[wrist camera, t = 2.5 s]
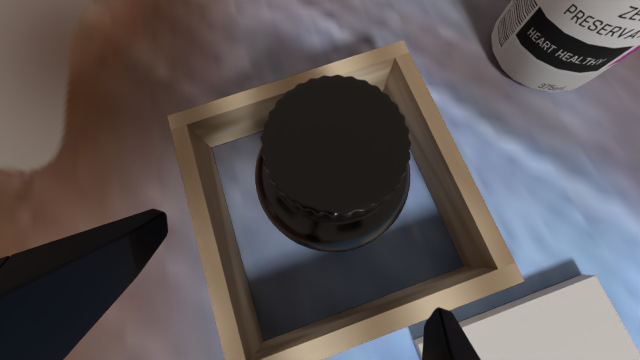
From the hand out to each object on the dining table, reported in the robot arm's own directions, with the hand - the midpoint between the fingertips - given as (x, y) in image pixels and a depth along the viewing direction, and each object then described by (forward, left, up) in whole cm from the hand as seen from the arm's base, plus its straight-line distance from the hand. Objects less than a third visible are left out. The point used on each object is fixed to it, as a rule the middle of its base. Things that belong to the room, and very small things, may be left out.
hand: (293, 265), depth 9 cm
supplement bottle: (+3, +3, -11) cm, 12 cm away
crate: (+3, +3, -11) cm, 12 cm away
